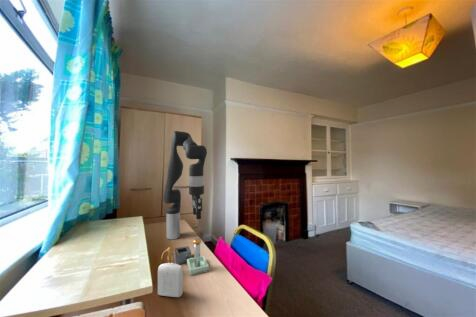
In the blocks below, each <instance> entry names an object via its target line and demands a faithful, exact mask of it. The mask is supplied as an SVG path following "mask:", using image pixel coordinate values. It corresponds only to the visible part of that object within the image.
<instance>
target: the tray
mask: <svg viewBox="0 0 476 317" xmlns="http://www.w3.org/2000/svg"><path fill="white" fill-rule="evenodd" d="M186 265H187V268H188V272H189V275H190V276H193V275H197V274H198V275H199V274H201V273H205V272H209V271H210V264H209V263H208V261H207V259H206V257H205V255H200V267H197V268H196V267H194V257H191V258H189V259H187V262H186Z"/></svg>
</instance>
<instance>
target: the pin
mask: <svg viewBox="0 0 476 317" xmlns="http://www.w3.org/2000/svg"><path fill="white" fill-rule="evenodd" d="M192 243H193V256H194V257H193V258H194V267H196V268H197V267H200V256H201V243H202V239H201V238H194V239H193V240H192Z"/></svg>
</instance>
